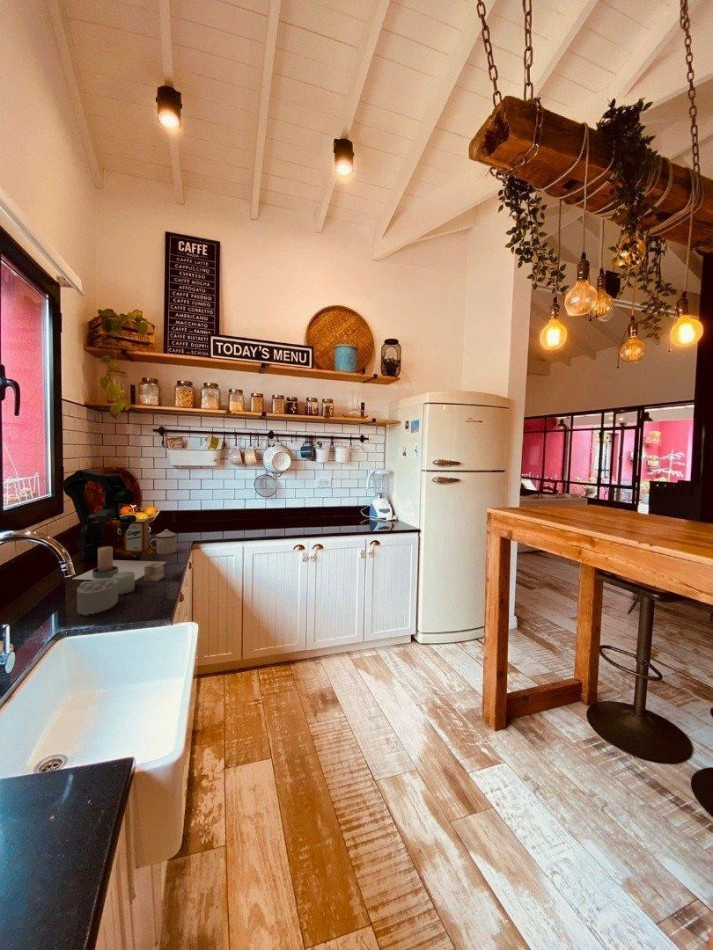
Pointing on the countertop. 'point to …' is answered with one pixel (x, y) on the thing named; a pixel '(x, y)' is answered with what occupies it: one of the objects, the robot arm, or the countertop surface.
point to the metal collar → (104, 573)
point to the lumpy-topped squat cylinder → (96, 595)
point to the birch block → (153, 571)
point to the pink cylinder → (105, 559)
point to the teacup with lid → (165, 542)
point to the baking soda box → (137, 537)
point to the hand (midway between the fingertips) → (112, 537)
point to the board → (122, 569)
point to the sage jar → (125, 582)
